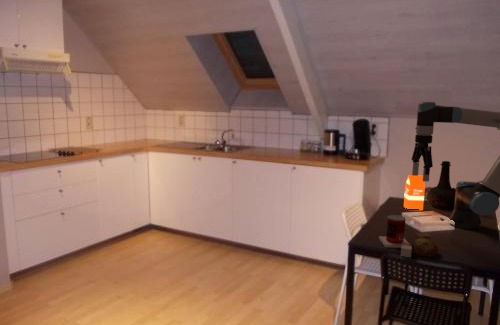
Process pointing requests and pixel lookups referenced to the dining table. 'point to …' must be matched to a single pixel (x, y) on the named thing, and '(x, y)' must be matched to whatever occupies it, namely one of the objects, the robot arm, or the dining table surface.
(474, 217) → the robot arm
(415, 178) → the orange juice
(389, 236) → the canned food
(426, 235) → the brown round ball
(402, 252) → the grey block
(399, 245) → the plate
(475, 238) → the dining table surface
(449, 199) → the glass bottle
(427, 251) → the bread roll
